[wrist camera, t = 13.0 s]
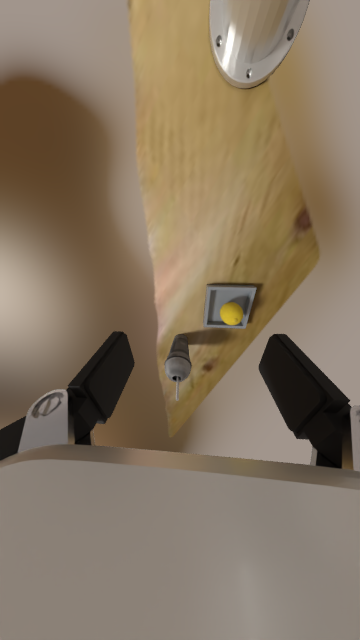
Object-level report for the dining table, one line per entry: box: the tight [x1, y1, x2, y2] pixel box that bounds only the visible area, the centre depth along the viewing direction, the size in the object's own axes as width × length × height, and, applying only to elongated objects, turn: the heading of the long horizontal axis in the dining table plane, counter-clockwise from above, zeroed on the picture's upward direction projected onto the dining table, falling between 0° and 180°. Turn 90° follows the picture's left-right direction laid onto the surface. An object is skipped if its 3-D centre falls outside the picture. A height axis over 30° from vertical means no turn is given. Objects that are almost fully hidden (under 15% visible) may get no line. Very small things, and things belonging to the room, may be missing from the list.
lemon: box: [220, 302, 243, 325], centre depth 35 cm, size 6×6×8 cm
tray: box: [203, 284, 257, 329], centre depth 38 cm, size 12×12×2 cm
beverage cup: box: [165, 334, 191, 400], centre depth 38 cm, size 7×7×20 cm
